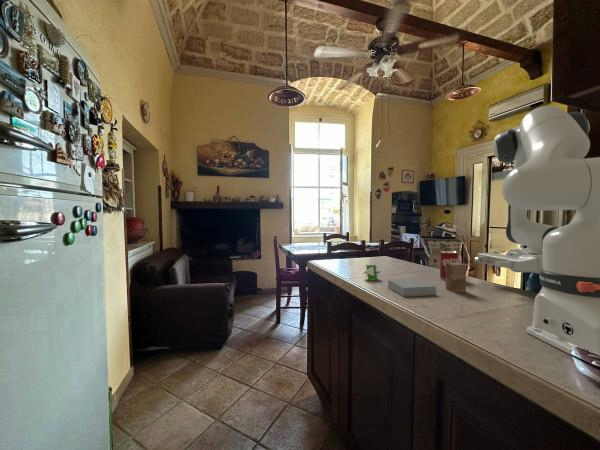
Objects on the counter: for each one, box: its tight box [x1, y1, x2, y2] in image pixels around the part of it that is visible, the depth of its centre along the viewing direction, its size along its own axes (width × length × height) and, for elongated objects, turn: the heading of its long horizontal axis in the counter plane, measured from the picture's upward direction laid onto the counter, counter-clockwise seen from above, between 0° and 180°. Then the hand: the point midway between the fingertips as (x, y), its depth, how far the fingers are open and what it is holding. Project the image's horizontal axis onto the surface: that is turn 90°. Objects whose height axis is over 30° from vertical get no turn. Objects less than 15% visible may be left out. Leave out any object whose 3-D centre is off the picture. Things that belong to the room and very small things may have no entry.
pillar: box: [445, 262, 467, 293], centre depth 94 cm, size 4×4×10 cm
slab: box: [387, 278, 437, 297], centre depth 94 cm, size 12×12×3 cm
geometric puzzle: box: [362, 264, 381, 281], centre depth 114 cm, size 7×7×8 cm
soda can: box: [439, 250, 460, 281], centre depth 111 cm, size 7×7×12 cm
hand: (485, 262), depth 95 cm, fingers open, 8 cm apart
